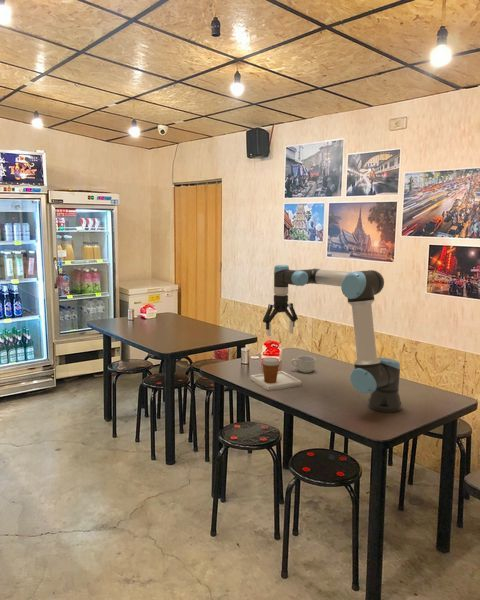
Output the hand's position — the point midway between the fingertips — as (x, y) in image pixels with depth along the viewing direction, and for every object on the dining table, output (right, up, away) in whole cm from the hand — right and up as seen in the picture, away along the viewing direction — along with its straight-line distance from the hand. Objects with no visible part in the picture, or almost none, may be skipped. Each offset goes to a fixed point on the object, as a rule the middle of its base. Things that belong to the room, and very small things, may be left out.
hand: (280, 334), depth 267 cm
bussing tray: (-2, -26, +4) cm, 27 cm away
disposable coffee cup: (-5, -25, +2) cm, 26 cm away
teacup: (+15, -23, +26) cm, 38 cm away
